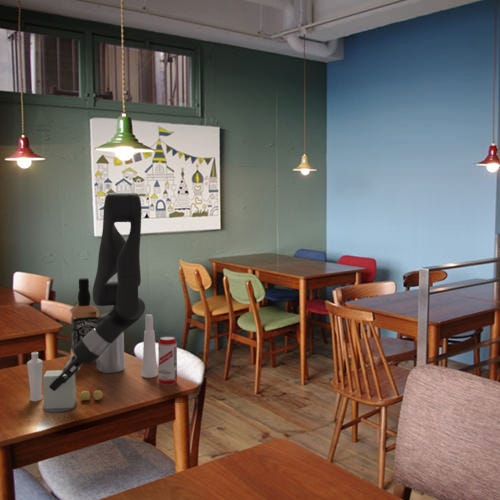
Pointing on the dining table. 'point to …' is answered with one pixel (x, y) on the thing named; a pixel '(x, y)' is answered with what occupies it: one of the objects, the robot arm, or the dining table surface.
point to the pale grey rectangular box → (59, 391)
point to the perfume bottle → (35, 377)
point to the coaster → (59, 409)
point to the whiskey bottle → (83, 315)
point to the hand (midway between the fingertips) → (54, 384)
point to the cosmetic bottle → (149, 350)
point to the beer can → (167, 360)
